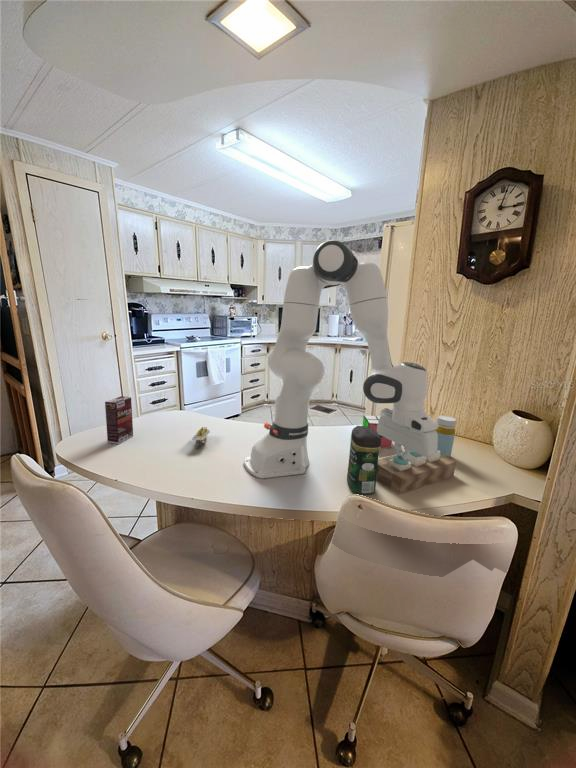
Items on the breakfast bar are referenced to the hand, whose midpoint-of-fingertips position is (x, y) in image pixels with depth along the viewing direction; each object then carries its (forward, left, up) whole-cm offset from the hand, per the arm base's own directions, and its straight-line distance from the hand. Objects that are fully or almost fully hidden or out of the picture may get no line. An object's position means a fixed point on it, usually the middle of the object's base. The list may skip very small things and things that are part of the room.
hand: (401, 457), depth 98 cm
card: (+10, +10, -8) cm, 16 cm away
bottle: (+30, +6, -8) cm, 31 cm away
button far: (+14, 0, -5) cm, 14 cm away
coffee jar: (-14, +2, -8) cm, 16 cm away
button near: (0, 0, -6) cm, 6 cm away
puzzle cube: (+15, +25, -8) cm, 30 cm away
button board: (+7, 0, -8) cm, 10 cm away
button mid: (+7, 0, -5) cm, 8 cm away
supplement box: (-76, +66, -8) cm, 101 cm away
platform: (-50, +49, -8) cm, 71 cm away
